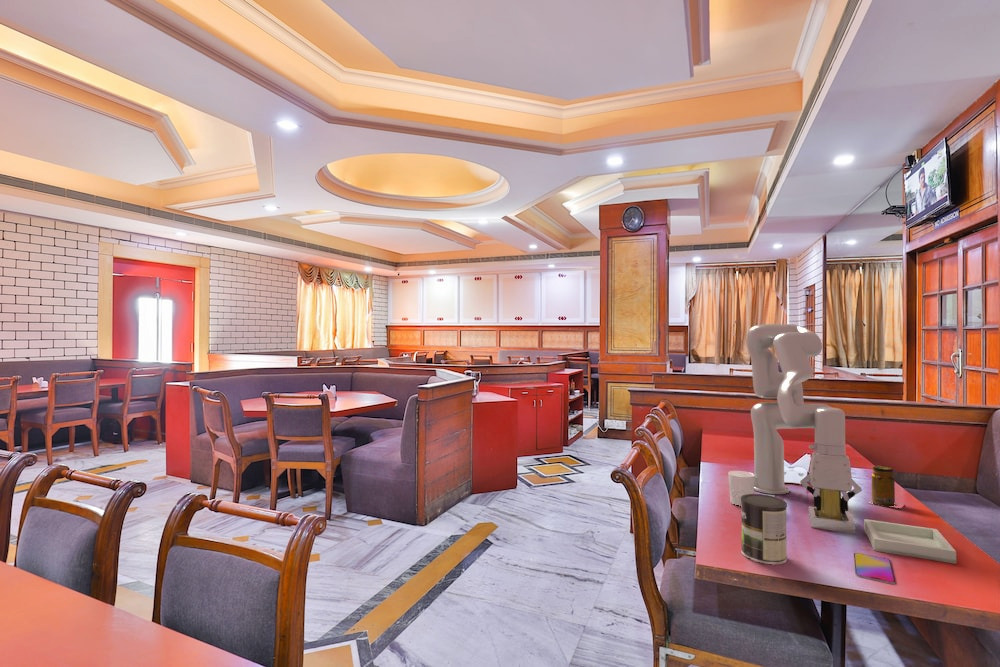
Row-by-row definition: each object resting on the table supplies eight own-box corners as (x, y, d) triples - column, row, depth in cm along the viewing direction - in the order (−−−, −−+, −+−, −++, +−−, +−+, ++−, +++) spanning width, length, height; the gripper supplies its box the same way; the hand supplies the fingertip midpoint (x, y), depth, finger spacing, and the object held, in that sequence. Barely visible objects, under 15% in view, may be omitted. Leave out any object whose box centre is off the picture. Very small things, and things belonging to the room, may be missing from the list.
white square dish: (811, 527, 143) (811, 516, 143) (808, 516, 152) (808, 506, 152) (855, 534, 138) (854, 523, 138) (849, 521, 147) (849, 511, 147)
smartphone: (890, 559, 122) (896, 583, 110) (890, 561, 122) (896, 586, 110) (853, 552, 126) (855, 574, 114) (853, 554, 126) (855, 577, 114)
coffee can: (739, 559, 123) (739, 502, 123) (742, 544, 132) (742, 491, 132) (787, 568, 118) (786, 509, 118) (787, 552, 126) (787, 497, 127)
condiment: (874, 499, 169) (873, 463, 169) (905, 505, 162) (905, 468, 162) (867, 503, 164) (867, 467, 164) (899, 510, 157) (899, 472, 157)
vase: (835, 529, 141) (834, 479, 141) (813, 522, 147) (813, 474, 147) (847, 526, 144) (847, 477, 144) (825, 519, 150) (825, 472, 150)
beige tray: (874, 550, 127) (874, 538, 127) (864, 529, 141) (864, 519, 141) (956, 563, 120) (956, 551, 120) (936, 540, 134) (936, 529, 134)
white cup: (729, 506, 162) (728, 475, 162) (727, 499, 169) (727, 469, 169) (756, 509, 159) (755, 478, 159) (753, 501, 166) (753, 471, 166)
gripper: (796, 449, 146) (797, 510, 146) (868, 455, 138) (868, 520, 138) (795, 444, 153) (796, 503, 153) (863, 450, 145) (864, 512, 145)
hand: (830, 510), depth 145 cm, fingers closed on vase, 5 cm apart
